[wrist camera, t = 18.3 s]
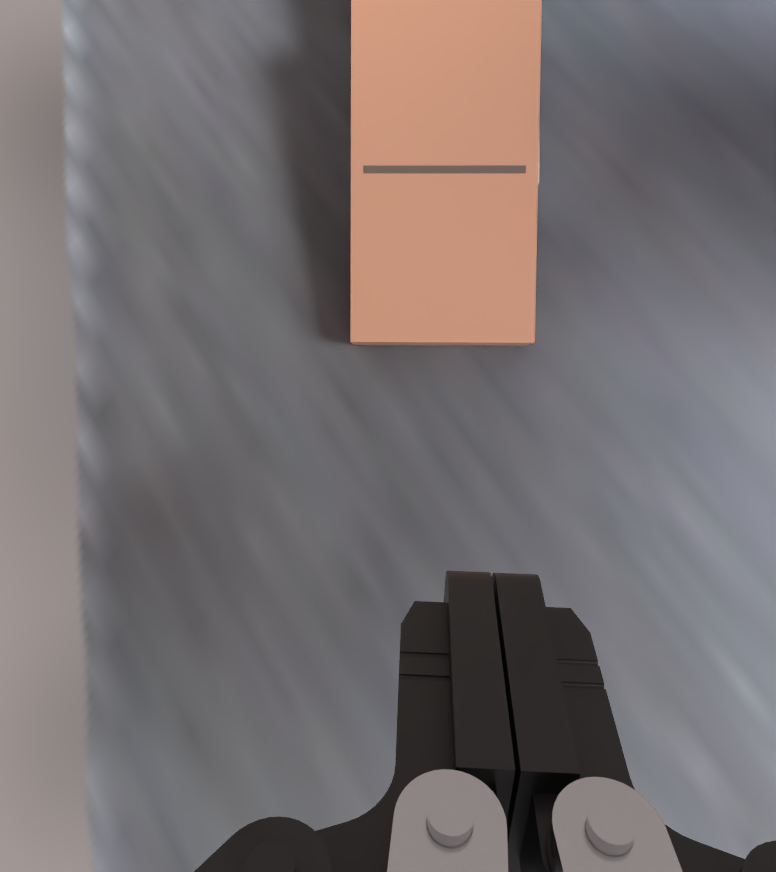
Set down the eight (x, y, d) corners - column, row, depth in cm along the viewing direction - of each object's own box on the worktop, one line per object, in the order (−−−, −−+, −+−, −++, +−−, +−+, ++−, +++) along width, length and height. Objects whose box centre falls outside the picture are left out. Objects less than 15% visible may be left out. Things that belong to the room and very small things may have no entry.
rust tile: (354, 345, 25) (355, 21, 24) (524, 346, 25) (531, 20, 24) (350, 341, 23) (351, -10, 22) (535, 342, 23) (542, -11, 22)
